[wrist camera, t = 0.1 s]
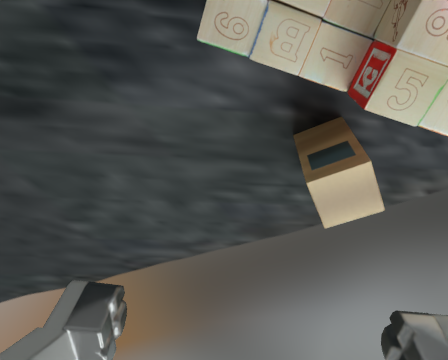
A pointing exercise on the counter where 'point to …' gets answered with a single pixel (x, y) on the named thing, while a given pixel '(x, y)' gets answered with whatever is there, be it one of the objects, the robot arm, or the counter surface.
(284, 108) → the counter surface
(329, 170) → the birch block
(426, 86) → the stack of blocks
